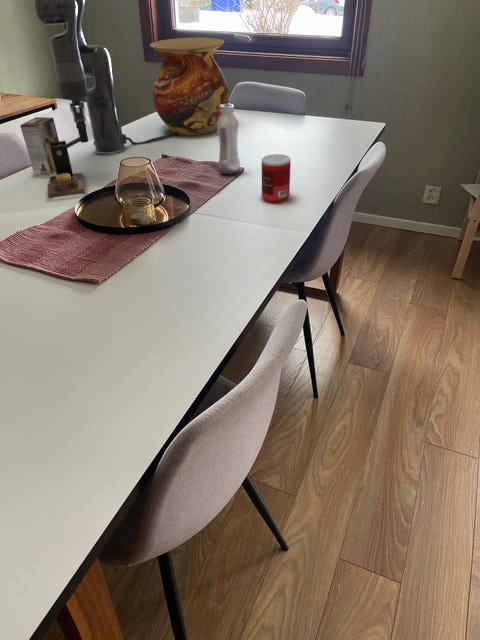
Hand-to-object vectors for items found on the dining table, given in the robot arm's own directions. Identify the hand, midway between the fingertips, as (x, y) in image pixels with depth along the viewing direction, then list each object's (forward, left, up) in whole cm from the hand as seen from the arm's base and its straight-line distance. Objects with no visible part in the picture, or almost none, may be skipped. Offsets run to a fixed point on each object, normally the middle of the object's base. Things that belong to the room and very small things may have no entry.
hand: (84, 137), depth 148 cm
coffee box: (+3, -17, -13) cm, 22 cm away
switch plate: (+12, +3, -13) cm, 17 cm away
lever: (+3, -2, -2) cm, 4 cm away
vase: (-59, -9, -13) cm, 61 cm away
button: (+12, +2, -9) cm, 15 cm away
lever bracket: (+6, -5, -13) cm, 15 cm away
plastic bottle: (-27, +33, -13) cm, 45 cm away
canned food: (-18, +56, -13) cm, 60 cm away
